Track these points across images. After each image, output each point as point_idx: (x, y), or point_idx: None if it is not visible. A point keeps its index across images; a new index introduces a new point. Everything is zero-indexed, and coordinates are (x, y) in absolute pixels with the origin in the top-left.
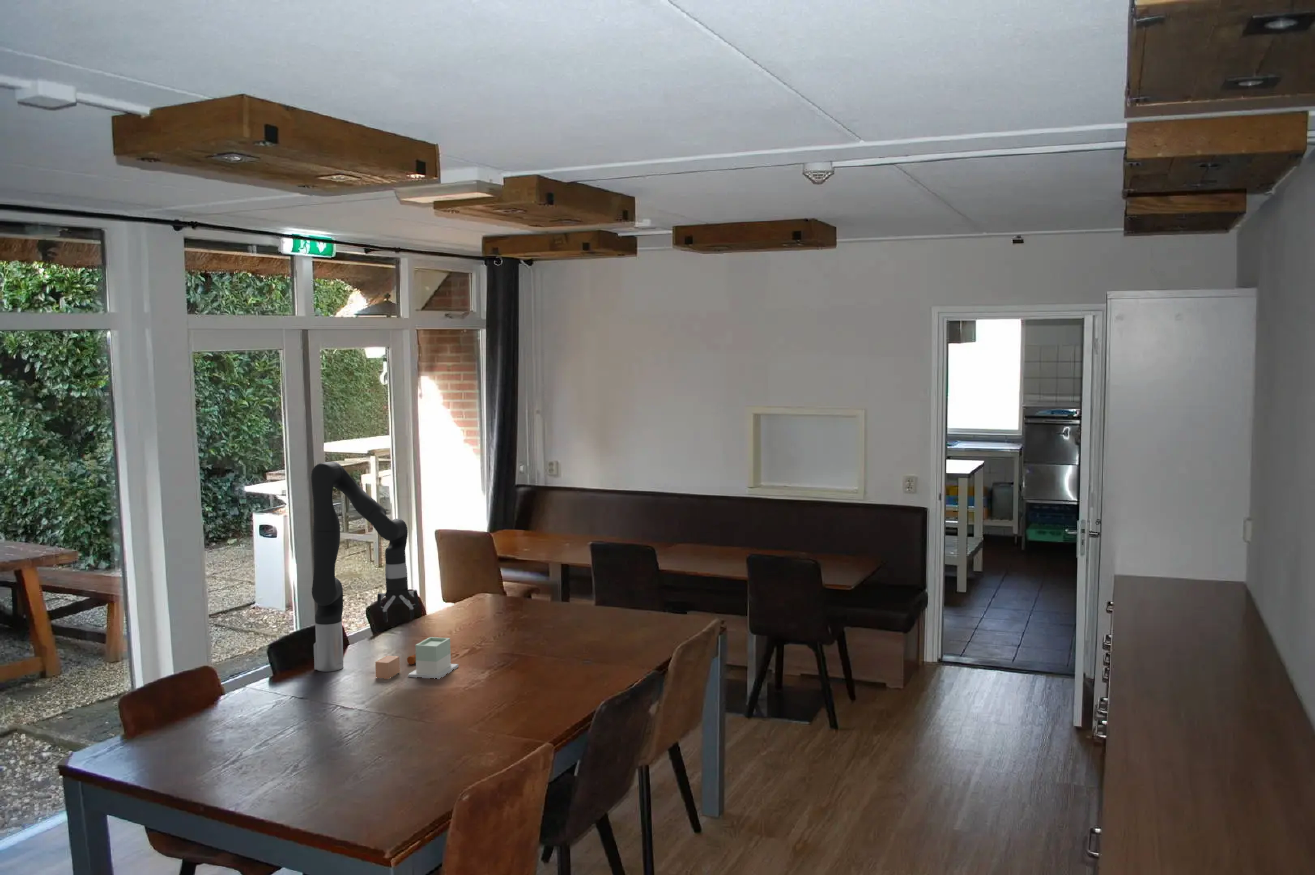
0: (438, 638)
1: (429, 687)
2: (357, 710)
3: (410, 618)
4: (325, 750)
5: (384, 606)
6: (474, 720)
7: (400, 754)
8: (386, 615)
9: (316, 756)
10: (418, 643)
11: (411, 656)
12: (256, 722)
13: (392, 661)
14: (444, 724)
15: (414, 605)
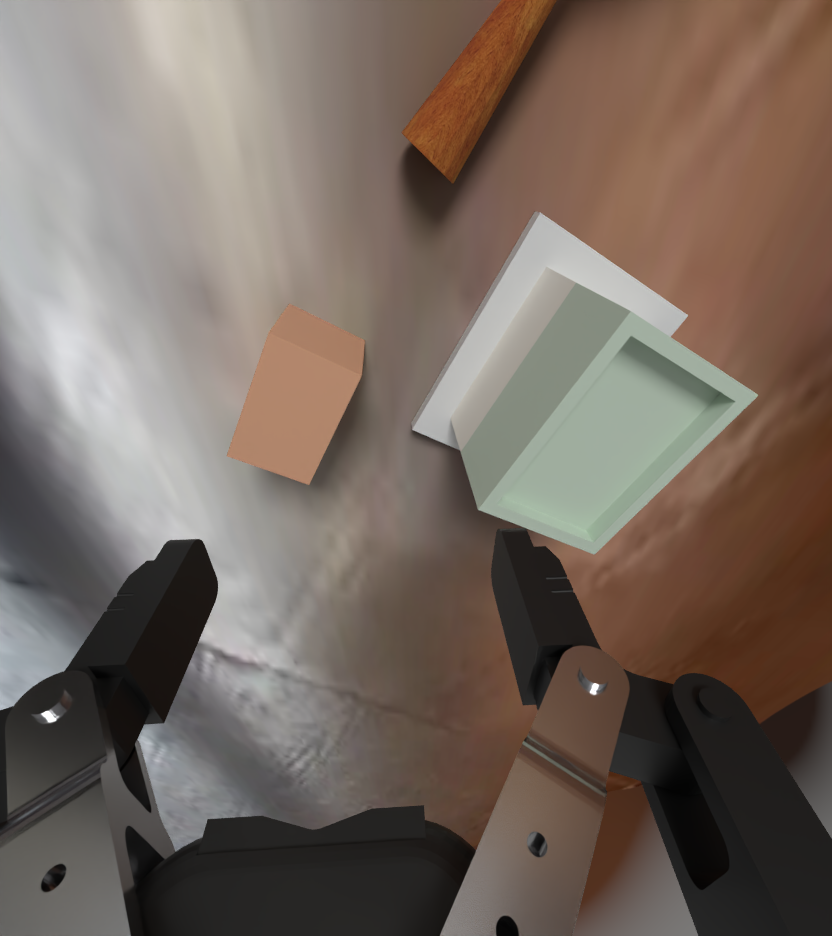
0: (681, 366)
1: (487, 553)
2: (274, 676)
3: (499, 594)
4: (268, 795)
5: (26, 780)
6: None
7: (401, 804)
8: (177, 671)
9: (259, 806)
10: (503, 480)
11: (437, 164)
12: None
13: (327, 443)
14: (487, 740)
15: (635, 762)
